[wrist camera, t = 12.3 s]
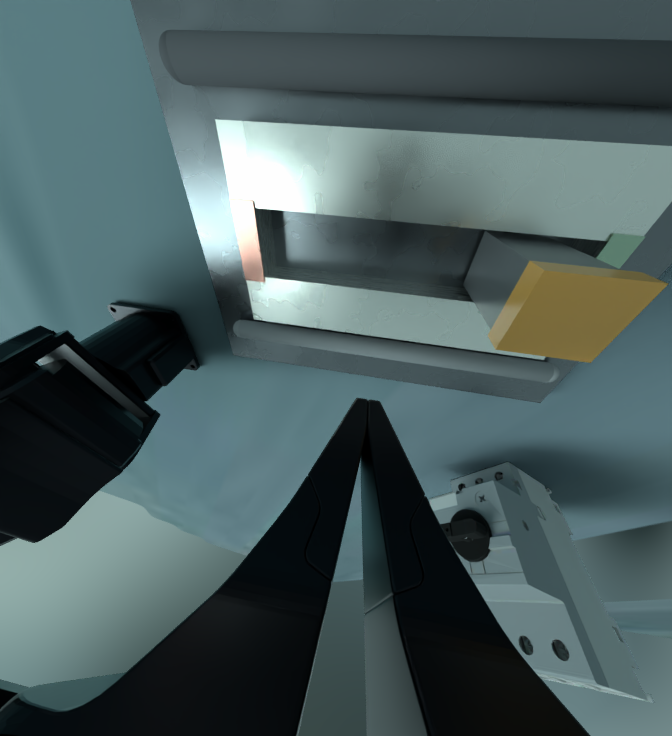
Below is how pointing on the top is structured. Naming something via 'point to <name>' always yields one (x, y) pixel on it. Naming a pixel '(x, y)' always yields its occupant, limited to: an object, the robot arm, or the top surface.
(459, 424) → the top surface
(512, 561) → the circuit breaker
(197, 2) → the breaker panel
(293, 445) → the top surface
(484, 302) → the breaker lever
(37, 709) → the robot arm
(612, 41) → the gray flat tray
